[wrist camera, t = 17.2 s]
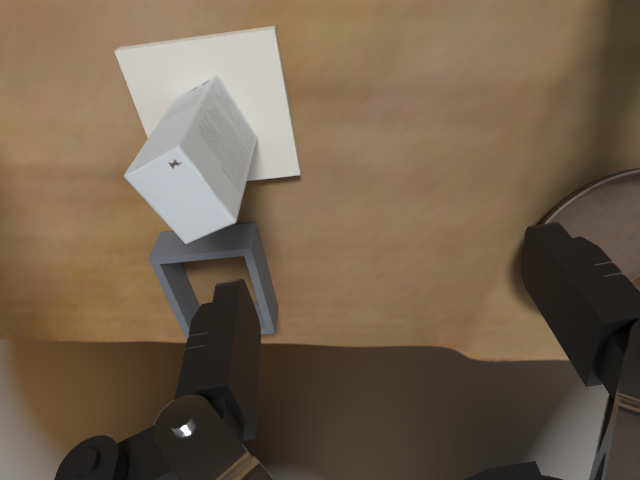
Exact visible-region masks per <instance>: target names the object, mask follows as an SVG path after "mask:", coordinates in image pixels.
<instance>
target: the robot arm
mask: <svg viewBox="0 0 640 480" xmlns="http://www.w3.org/2000/svg"><path fill="white" fill-rule="evenodd" d="M521 270H522V278H523V282H524V285H525V287H526V289H527V291H528V293H529V294H530V296H531V298H532V299H533V301H534V303H535V304H536V306H537V307H538V309H539V311H540V312H541V314H542V316H543V317H544V319H545V321H546V322H547V324H548V325H549V327H550V329H551V330H552V332H553V334H554V335H555V337H556V338H557V340H558V342H559V343H560V345H561V347H562V348H563V350H564V352H565V353H566V355H567V356H568V358H569V360H570V361H571V363H572V365H573V366H574V368H575V370H576V371H577V373H578V374H579V376H580V378H581V379H582V381H583V383H584V384H585V386H586V387H587V386H594V385H601V384H603V385H604V386H605V388H606V390H607V391H608V393H609V395H608V398H607V402H606V407H605V411H604V415H603V420H602V425H601V429H600V434H599V439H598V444H597V448H596V453H595V458H594V462H593V466H592V470H591V473H590V477H589V480H640V291H639V290H638V289H637V288H636V287H635V286H634V285H633V284H632V283H631V281H630V280H629V279H628V278H627V277H626V276H625V275H624V274H623V275H622V271H621V270H620V269H619V268H618V267H617V266H616V265H615V263H612V260H611V259H610V258H609V257H608V256H607V255H606V253H605V252H604V251H603V250H602V249H601V248H600V247H599V246H597V245H596V244H594V243H592V242H590V241H589V240H587V239H585V238H583V237H581V236H580V237H575V238H572V237H571V236H570V235H569V233H568V232H567V231H566V230H565V229H564V227H563V226H562V225H561V224H560V223H558V222H552V223H547V224H541V225H536V226H530V227H528V228H527V229H526V232H525V240H524V249H523V259H522V269H521ZM188 335H189V337H188V339H187V343H186V350H185V353H184V357H183V362H182V366H181V371H180V376H179V381H178V385H177V389H176V394H175V398H174V400H173V401H172V402H170V403H169V404H168V405H167V406H166V407H165V408H164V409H163V410H162V411H161V412H160V414H159V415H158V417H157V419H156V421H155V424H154V425H153V426H152V427H150V428H148V429H146V430H144V431H142V432H140V433H138V434H136V435H134V436H132V437H129V438H127V439H125V440H123V441H121V442H119V443H116V442H115V441H114V440H113V439H112V438H110V437H108V436H95V437H91V438H89V439H87V440H85V441H83V442H81V443H80V444H79V445H77V446H76V447H74V449H72V450H71V451H70V452H69V453H68V454H67V456H66V457H65V458H64V460H63V461H62V463H61V464H60V466H59V468H58V471H57V473H56V477H55V479H54V480H273V478H272V477H271V476H270V475H269V473H268V472H267V471H266V470H265V469H264V467H263V466H262V465H261V463H260V462H259V461H258V460H257V459H256V458H255V457H254V456H253V455H250V453H249V452H248V451H247V450H246V449H245V447H244V446H243V441H244V440H250V439H255V438H256V422H257V403H258V384H259V364H260V346H261V327H260V321H259V317H258V314H257V311H256V309H255V306H254V303H253V301H252V298H251V296H250V293H249V291H248V288H247V286H246V283H245V281H244V280H243V279H238V280H233V281H227V282H222V283H217V284H216V287H215V292H214V297H213V302H212V303H207V304H202V305H201V306H200V308H199V309H198V311H197V312H196V314H195V315H194V317H193V318H192V320H191V325H190V330H189V334H188ZM465 480H562V479H559V478H554V477H550V476H544V475H541V473H540V471H539V468H538V466H537V464H536V462H535V461H533V462H527V463H520V464H513V465H507V466H501V467H493V468H488V469H486V470H484V471H482V472H480V473H477V474H475V475H473V476H471V477H469V478H467V479H465Z"/></svg>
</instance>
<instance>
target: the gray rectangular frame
mask: <svg viewBox="0 0 640 480" xmlns="http://www.w3.org/2000/svg"><path fill="white" fill-rule="evenodd" d="M239 256H244V257H245V260H246V264H247V267H248V270H249V274H250V277H251V280H252V284H253V287H254V290H255V294H256V297H257V300H258V303H254V306H255V309H256V311H257V314H258V317H259V321H260V327H261V335H263V334H275V329H276V320H277V311H278V304H277V300H276V296H275V293H274V289H273V285H272V281H271V277H270V274H269V270H268V266H267V262H266V258H265V255H264V251H263V247H262V243H261V239H260V236H259V232H258V228H257V224H256V223H247V224H237V225H230V226H227V227H225V228H223V229H220V230H218V231H216V232H213V233H211V234H208V235H206V236H204V237H201V238H199V239H197V240H194V241H192V242H190V243H188V244H185V243H184V242H183V241H182V240H181V239H180V238H179V236H178V235H177V234H176V233H175V232H174V231H169V232H161V233H160V235H159V237H158V239H157V241H156V244H155V246H154V248H153V250H152V252H151V254H150V256H149V261H150V263H151V265H152V267H153V269H154V271H155V273H156V276H157V278H158V280H159V282H160V284H161V286H162V288H163V291H164V293H165V295H166V297H167V299H168V301H169V303H170V306H171V308H172V310H173V312H174V314H175V316H176V318H177V321H178V323H179V325H180V327H181V329H182V331H183V333H184V335H185V338H186V340H187V339H188V337H189V335H188V334H189V330H190V325H191V320H192V318H193V317H194V315H195V314H196V312H197V311H198V309H199V308H200V306H199V304H198V302H197V299H196V297H195V294H194V292H193V290H192V287H191V285H190V282H189V280H188V277H187V275H186V273H185V270H184V268H183V265H182V263H181V262H187V261H198V260H208V259H218V258H229V257H239Z"/></svg>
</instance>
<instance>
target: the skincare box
mask: <svg viewBox="0 0 640 480" xmlns="http://www.w3.org/2000/svg"><path fill="white" fill-rule="evenodd" d="M257 139H258V137H257V135H256V134H255V132H254V131H253V129H252V128H251V126H250V125H249V123H248V122H247V120H246V119H245V117H244V116H243V114H242V112H241V111H240V109H239V108H238V106H237V105H236V103H235V102H234V100H233V99H232V97H231V96H230V94H229V93H228V91H227V90H226V88H225V86H224V85H223V83H222V82H221V80H220V79H219V77H218V76H214V77H213V78H211V79H209V80H207V81H205V82H204V83H202V84H200V85H198V86H196V87H195V88H193V89H191V90H190V91H188V92H186V93H184V94H183V95H181V96H179V97H177V98H175V99H174V101H173V102H172V104H171V105H170V107H169V108H168V110H167V111H166V113H165V114H164V116H163V117H162V119H161V120H160V122H159V123H158V125H157V126H156V128H155V129H154V131H153V132H152V134H151V135H150V137H149V138H148V140H147V141H146V143H145V144H144V146H143V147H142V149H141V150H140V152H139V153H138V155H137V156H136V158H135V160H134V161H133V163H132V164H131V165H130V167H129V168H128V170H127V171H126V173H125V175H124V177H125V178H126V180H127V181H128V182H129V183H130V184H131V185H132V186H133V187H134V188H135V189H136V190H137V191H138V193H139V194H140V195H141V196H142V197H143V198H144V199H145V200H146V201H147V202H148V204H149V205H150V206H151V207H152V208H153V209H154V210H155V211H156V212H157V213H158V214H159V216H160V217H161V218H162V219H163V220H164V221H165V222H166V223H167V224H168V225H169V226H170V228H171V229H172V230H173V231H174V232H175V233H176V234H177V235H178V236H179V238H180V239H181V240H182V241H183V242H184V243H185V244H188V243H190V242H192V241H194V240H197V239H199V238H201V237H204V236H206V235H208V234H211V233H213V232H216V231H218V230H220V229H223V228H225V227H227V226H230V225H232V224H235V223H236V222H237V218H238V214H239V210H240V206H241V202H242V198H243V194H244V190H245V186H246V182H247V178H248V174H249V170H250V167H251V163H252V159H253V155H254V151H255V147H256V143H257Z"/></svg>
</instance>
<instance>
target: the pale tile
mask: <svg viewBox="0 0 640 480" xmlns="http://www.w3.org/2000/svg"><path fill="white" fill-rule="evenodd" d="M115 54H116V57H117V59H118V62H119V64H120V67H121V70H122V72H123V75H124V77H125V80H126V82H127V85H128V88H129V90H130V93H131V95H132V98H133V101H134V103H135V106H136V108H137V111H138V113H139V116H140V119H141V121H142V124H143V126H144V129H145V132H146V134H147V137H148V138H149V137H150V135H151V134H152V132H153V131H154V129H155V128H156V126H157V125H158V123H159V122H160V120H161V119H162V117H163V116H164V114H165V113H166V111H167V110H168V108H169V107H170V105H171V104H172V102H173V101H174V99H175V98H177V97H179V96H181V95H183V94H184V93H186V92H188V91H190V90H191V89H193V88H195V87H196V86H198V85H200V84H202V83H204V82H205V81H207V80H209V79H211V78H213V77H214V76H218V77H219V79H220V80H221V82H222V83H223V85H224V86H225V88H226V90H227V91H228V93H229V94H230V96H231V97H232V99H233V100H234V102H235V103H236V105H237V106H238V108H239V109H240V111H241V112H242V114H243V116H244V117H245V119H246V120H247V122H248V123H249V125H250V126H251V128H252V129H253V131H254V132H255V134H256V135H257V137H258V139H257V143H256V147H255V151H254V155H253V159H252V163H251V167H250V170H249V174H248V178H247V181H252V180H261V179H270V178H279V177H288V176H297V175H300V173H301V168H300V162H299V156H298V151H297V145H296V139H295V134H294V128H293V122H292V116H291V111H290V105H289V99H288V93H287V88H286V82H285V76H284V71H283V65H282V59H281V53H280V48H279V42H278V36H277V31H276V26H269V27H262V28H255V29H248V30H240V31H233V32H226V33H219V34H212V35H204V36H197V37H190V38H183V39H176V40H168V41H161V42H154V43H147V44H140V45H132V46H125V47H119V48H118V49H116V50H115Z"/></svg>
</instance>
